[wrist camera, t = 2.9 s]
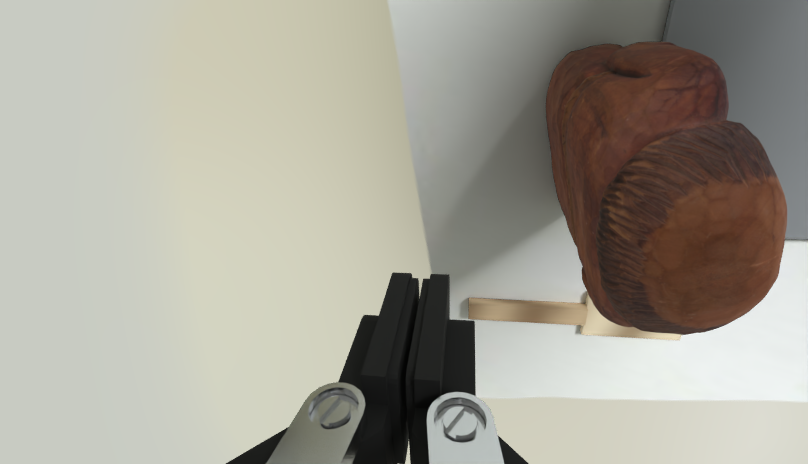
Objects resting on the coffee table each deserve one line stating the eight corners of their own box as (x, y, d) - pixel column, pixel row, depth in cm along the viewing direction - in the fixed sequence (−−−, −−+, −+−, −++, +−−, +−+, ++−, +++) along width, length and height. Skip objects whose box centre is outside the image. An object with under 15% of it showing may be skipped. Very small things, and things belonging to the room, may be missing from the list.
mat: (672, -7, 24) (676, -7, 24) (1071, -32, 21) (1087, -33, 21) (620, 230, 32) (622, 234, 31) (909, 238, 28) (917, 242, 28)
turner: (468, 323, 38) (468, 330, 37) (469, 285, 36) (469, 291, 35) (676, 335, 35) (681, 343, 35) (690, 294, 33) (696, 302, 32)
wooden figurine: (637, 197, 30) (811, 394, 15) (548, 210, 32) (617, 400, 16) (640, 25, 25) (908, 41, 10) (533, 50, 27) (613, 100, 11)
